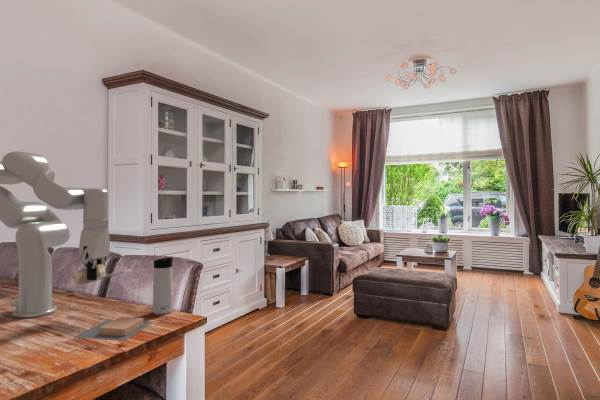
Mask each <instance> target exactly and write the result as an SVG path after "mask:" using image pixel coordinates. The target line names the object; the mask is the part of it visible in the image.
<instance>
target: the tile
mask: <svg viewBox="0 0 600 400" xmlns="http://www.w3.org/2000/svg"><path fill="white" fill-rule="evenodd" d="M112 320H113V321H111V322H109V323H108V324H106V325H104V326H102V327H100V335H115V336H126V335H128V334H129V333H131V332H132V331H134V330H136V329H137V328H139V327H140V326H142V325H143V321H144V317H127V316H119V317H117V318H115V319H112Z"/></svg>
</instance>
